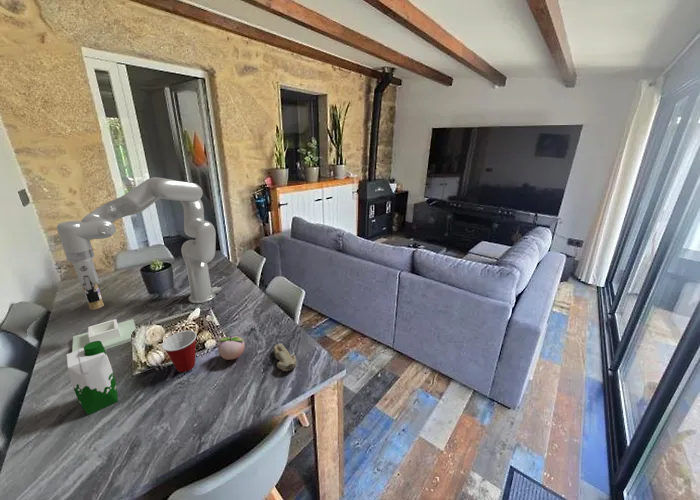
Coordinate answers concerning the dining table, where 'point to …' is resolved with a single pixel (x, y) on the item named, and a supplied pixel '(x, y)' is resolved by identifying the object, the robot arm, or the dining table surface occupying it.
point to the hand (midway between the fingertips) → (94, 298)
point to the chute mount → (105, 334)
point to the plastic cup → (181, 349)
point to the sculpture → (284, 358)
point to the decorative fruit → (231, 347)
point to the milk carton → (92, 377)
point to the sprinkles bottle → (98, 303)
